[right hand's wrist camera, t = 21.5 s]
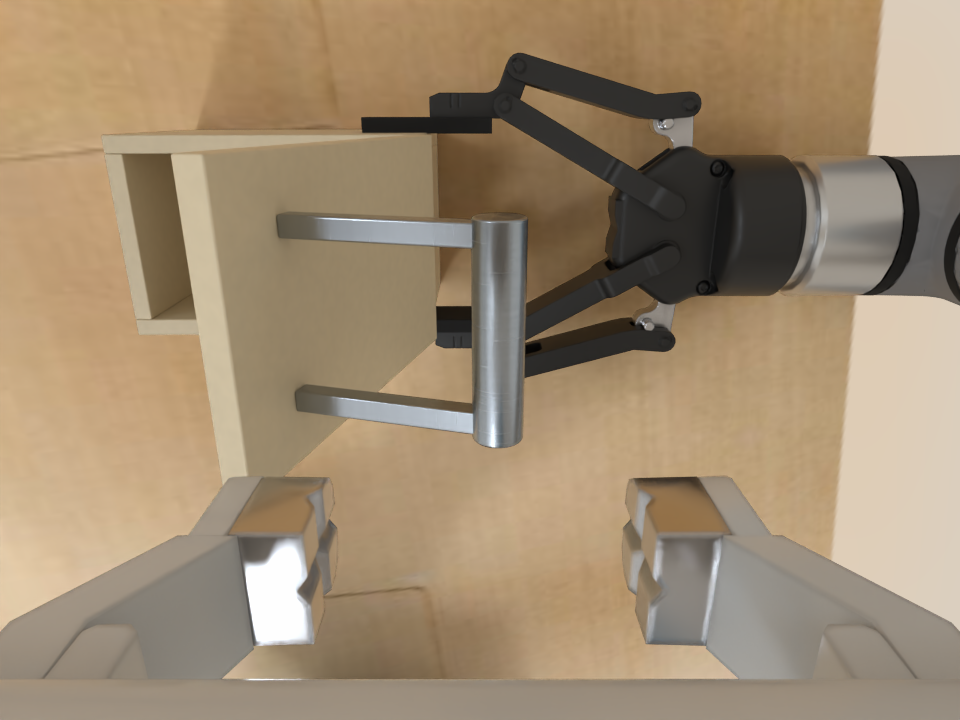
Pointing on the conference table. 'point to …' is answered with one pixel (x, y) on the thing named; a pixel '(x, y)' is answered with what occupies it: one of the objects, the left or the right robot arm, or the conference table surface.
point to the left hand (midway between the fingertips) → (371, 227)
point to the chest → (156, 217)
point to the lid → (339, 295)
